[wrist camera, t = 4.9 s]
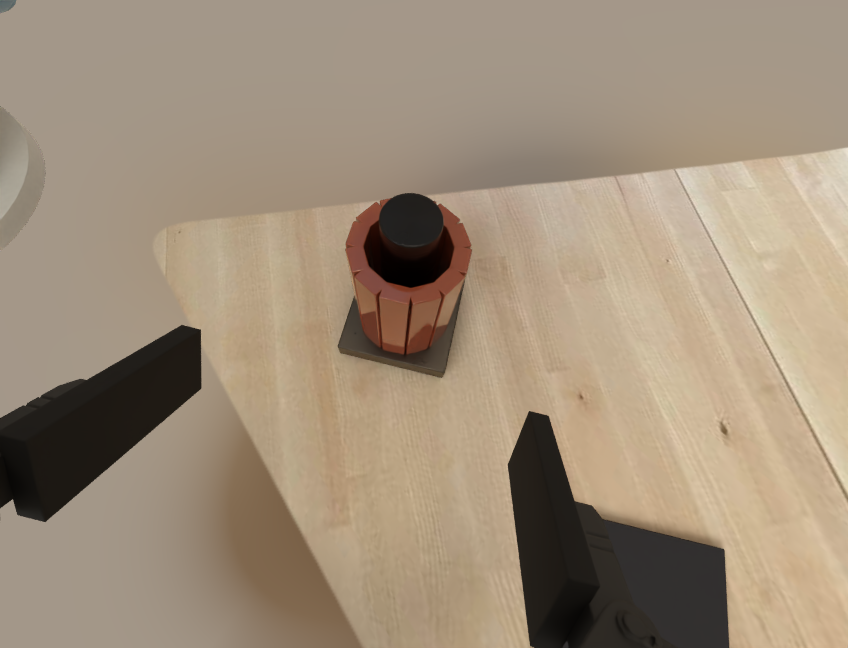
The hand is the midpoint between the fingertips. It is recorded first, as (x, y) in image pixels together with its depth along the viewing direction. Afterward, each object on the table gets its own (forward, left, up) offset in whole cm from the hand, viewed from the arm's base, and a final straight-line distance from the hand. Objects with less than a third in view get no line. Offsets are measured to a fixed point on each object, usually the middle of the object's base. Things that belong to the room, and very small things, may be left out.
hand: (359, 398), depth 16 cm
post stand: (0, +9, -13) cm, 16 cm away
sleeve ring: (0, +9, -12) cm, 15 cm away
